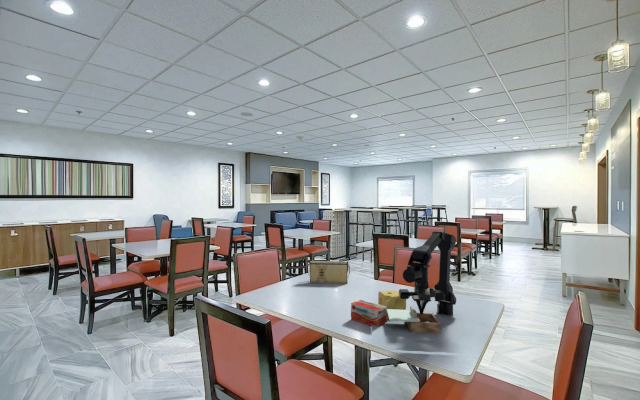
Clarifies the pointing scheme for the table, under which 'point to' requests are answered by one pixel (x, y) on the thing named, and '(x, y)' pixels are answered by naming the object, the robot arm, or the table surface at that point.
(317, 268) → the clutch purse
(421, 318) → the walnut box
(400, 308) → the cheese
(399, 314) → the lid
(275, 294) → the table surface
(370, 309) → the medicine box
